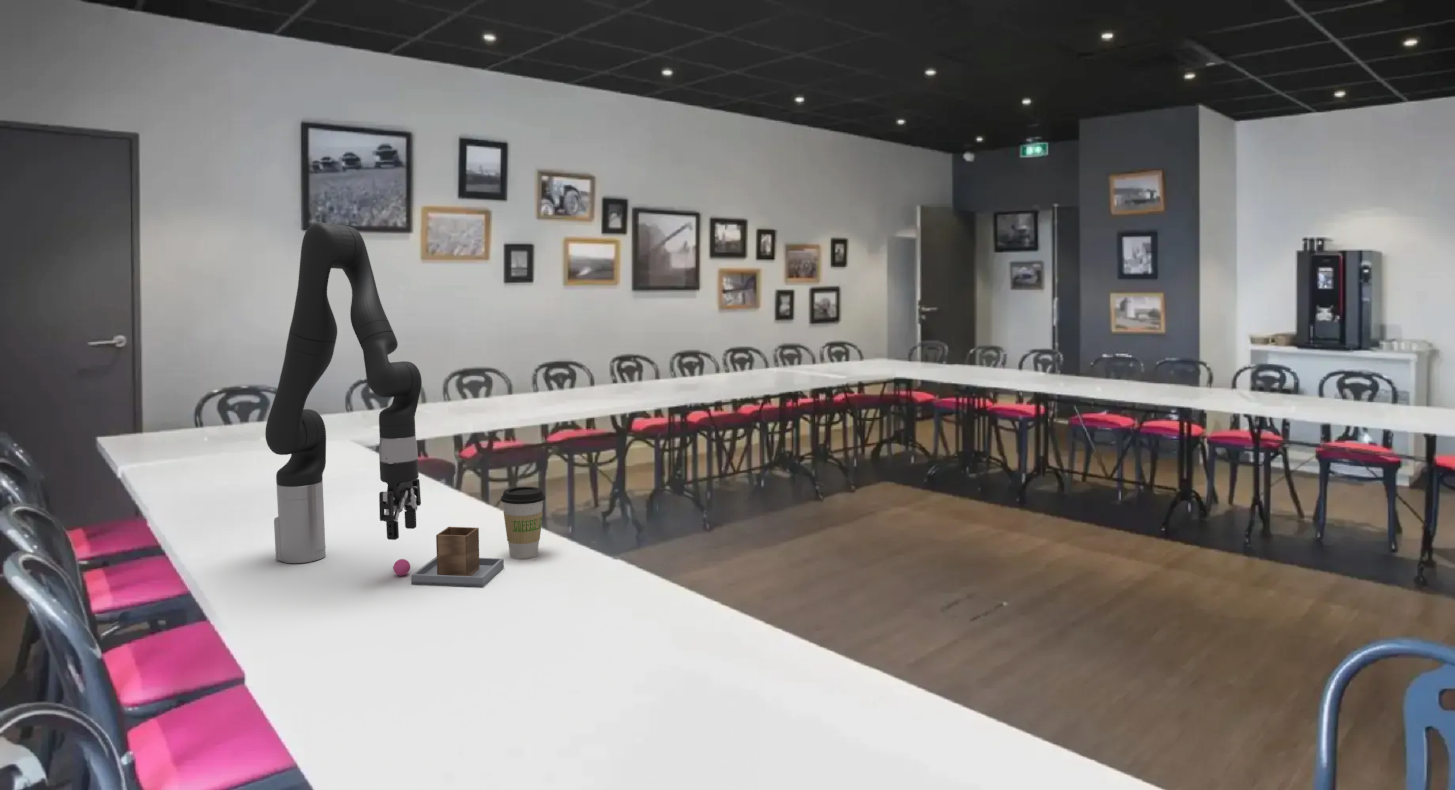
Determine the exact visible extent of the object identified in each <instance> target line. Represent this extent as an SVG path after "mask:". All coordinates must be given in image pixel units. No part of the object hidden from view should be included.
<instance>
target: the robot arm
mask: <svg viewBox="0 0 1455 790" xmlns="http://www.w3.org/2000/svg"><path fill="white" fill-rule="evenodd" d="M300 248H301V249H300V257H299V259H300V260H299V271H298V281H297V282H298V284H297V290H296V297H295V302H294V308H293V313H292V317H291V318H292V319H291V321H290V327H289V331H288V336H287V342H286V346H285V352H284V354H285V355H284V359H283V364H282V368H281V373H280V377H279V382H278V384H277V388H276V392H275V395H274V399H273V401H272V404H271V407H270V411H269V414H268V417H267V421H266V426H265V433H264V434H265V441H266V444H267V446H268V448H269V449H270V450H271V452H272V453H273V454H275V455H279V456H286V455H287V456H288V455H290V458H289V460H288V461H287V462H286V463H285V464H284V465H283V466H282V467H280V469H278V470H277V472H276V474H275V475H276V477H275V482H276V500H277V517H275V518H274V520H273V525H274V527H273V528H274V546H275V549H274V551H275V561H277V562H278V561H280V562H282V563H286V564H304V563H311V562H315V561H319V560H321V559H323V558H325V557H326V547H327V546H326V533H325V532H326V531H325V530H326V528H325V506H324V501H325V500H324V485H323V484H324V483H323V481H324V480H323V475H324V471H325V469H326V466H327V465H326V463H327V460H326V459H327V458H326V457H327V456H326V455H327V431H326V425H325V422H324V420H323V417H322V416H321V414H320V413H318V412H317V411H316V410H314V409H309V408H306V409H305V405H306V401H307V399H308V396H309V394H310V393H311V391H312V390H313V388H314V387H315V385H316V384H317V383H318V381H319V380H320V379H321V378H322V377H323V375H324V373H325V371H326V370H327V369H328V367H329V366H330V364H331V361H332V359H333V356H334V352H335V346H336V343H337V339H338V325H337V322H336V319H335V315H334V312H333V309H332V308H331V304H330V302H329V297H328V285H329V278H330V273H331V270H332V269H337V270H342V271H343V272H344V274H345V276H346V277H347V279H348V282H349V284H350V288H351V302H350V324H351V326H352V329H353V331H354V334H355V336H356V338H357V341H358V343H359V346H360V347H361V349H362V353H363V360H364V361H363V362H364V368H365V377H366V381H367V384H368V387H369V388H370V390H371V391H372V392H373V393H374V394H375V395H376V396H378V397H380V398H384V399H386V398H393V399H392V401H391V402H392V403H391V404H390V405H389V406H388V407H386V408H384V409H382V410H381V411H380V412H379V415H378V429H379V430H378V432H379V444H378V458H379V478H380V481H381V482H382V483H386V484H387V489H386V491H380V492H379V494H378V495H379V497H378V499H379V501H378V502H379V505H378V506H379V521H380V522H385V525H386V538H387V539H388V540H391V541H396V540H398V539H399V538H400V534H399V516H400V513H402V512H403V511H404V527H405V529H409V530H412V529H415V528H417V511H418V508H419V507H420V506H421V505H422V498H421V486H420V485H421V483H420V479H419V455H418V453H419V452H418V451H419V450H418V442H417V436H416V419H415V416H416V413H417V409H418V404H419V400H420V395H421V390H422V375H421V372H420V369H419V368H418V366H416V365H415V363H413V362H411V361H393V362H391V361H390V360H389V357H388V356H389V355H391V354H392V353H393V352H395V351H396V350H397V348H398V345H399V344H398V340H397V337H396V334H395V332H394V329H393V328H392V326H391V323H390V321H389V319H388V317H387V314H386V312H385V309H384V308H383V304H382V301H381V299H380V298H381V297H380V294H379V292H378V288H377V284H376V280H375V276H374V271H373V268H372V265H371V261H370V258H369V254H368V253H369V252H368V250H367V246H366V243H365V241H364V238H363V236H362V234H361V233H360V231H358V230H357V228H354V227H353V226H349V225H344V224H338V223H337V224H336V223H329V222H314V223H313V224H311V225H309V226H308V228H307V229H306V230H305V233H304V235H303V238H302V242H301V247H300ZM418 506H419V507H418Z"/></svg>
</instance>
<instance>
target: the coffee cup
mask: <svg viewBox="0 0 1455 790" xmlns="http://www.w3.org/2000/svg"><path fill="white" fill-rule="evenodd" d="M545 499H546V496H545V494H544V493H543V489H542V488H540V487H535V486H515V487H511V488H507V489H504V490H503V492H502V495H501V497H500V501H501V502H502V505H503V519H504V525H505V534H506V541H507V544H508V551H509V556H510V558H512V559H516V560H525V559H526V560H527V559H532V558H535V557H537V556H538V553H539V546H540V545H539V544H540V539H541V533H542V532H541V531H542V521H543V514H544V510H543V504H544V501H545Z"/></svg>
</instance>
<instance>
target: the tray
mask: <svg viewBox="0 0 1455 790" xmlns="http://www.w3.org/2000/svg"><path fill="white" fill-rule="evenodd" d="M504 559H505V558H497V557H495V558H494V557H479V569H478V570H477V571H476V572H475V573H474V574H473V575H472V576H451V575H437V555H436V556H435V557H434V558H432V559H431V560H430V561H428V562H426V563H425V564H424V565H422V566H421V567H420V568H419V569H417V570H416V571H415V572H413V573H411V575H410V578H411V579H410V584H411V585H419V586H443V587H464V588H466V587H468V588H469V587H470V588H484V586H486V585H487V584H488V583H489V582H490V581H491V580H492V579H493V578H494V577H495V576H496V575H498V573H500V572H501V570H503V569H504V568H505V563H504V561H505V560H504Z"/></svg>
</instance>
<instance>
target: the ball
mask: <svg viewBox="0 0 1455 790" xmlns="http://www.w3.org/2000/svg"><path fill="white" fill-rule="evenodd" d="M392 569H393V570H392V571H393V572H394V574H396V575H397V576H406V575H407V574H408V573H410V571H411V564H410V562H409V561H408V560H407V559H404V558H400V559H398V560H396V561H395V563H394V564H393V566H392Z"/></svg>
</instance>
